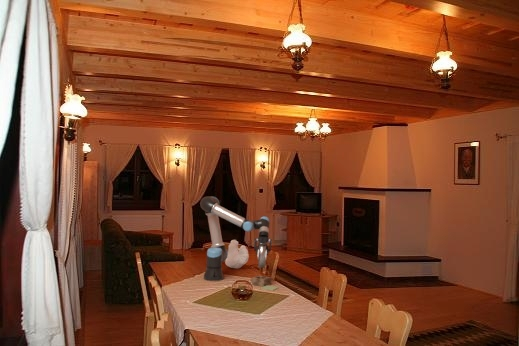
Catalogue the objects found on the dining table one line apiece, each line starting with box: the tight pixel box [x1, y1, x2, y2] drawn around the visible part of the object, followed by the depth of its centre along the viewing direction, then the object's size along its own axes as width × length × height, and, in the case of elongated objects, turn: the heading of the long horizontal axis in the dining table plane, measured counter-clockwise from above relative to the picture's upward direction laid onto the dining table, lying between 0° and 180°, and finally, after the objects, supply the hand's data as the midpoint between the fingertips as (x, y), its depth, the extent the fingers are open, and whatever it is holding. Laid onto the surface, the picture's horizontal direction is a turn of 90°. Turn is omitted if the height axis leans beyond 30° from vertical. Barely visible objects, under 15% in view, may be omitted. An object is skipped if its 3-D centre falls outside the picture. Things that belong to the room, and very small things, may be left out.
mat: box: [260, 285, 280, 291], centre depth 293 cm, size 10×10×1 cm
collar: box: [250, 275, 272, 287], centre depth 305 cm, size 11×11×5 cm
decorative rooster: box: [224, 239, 250, 270], centre depth 365 cm, size 25×16×25 cm, turn 35°
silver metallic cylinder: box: [257, 241, 268, 269], centre depth 306 cm, size 7×7×18 cm
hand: (261, 258), depth 302 cm, fingers closed on silver metallic cylinder, 5 cm apart
